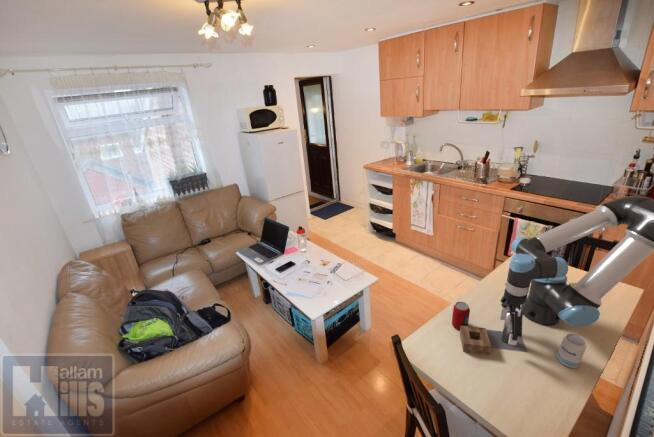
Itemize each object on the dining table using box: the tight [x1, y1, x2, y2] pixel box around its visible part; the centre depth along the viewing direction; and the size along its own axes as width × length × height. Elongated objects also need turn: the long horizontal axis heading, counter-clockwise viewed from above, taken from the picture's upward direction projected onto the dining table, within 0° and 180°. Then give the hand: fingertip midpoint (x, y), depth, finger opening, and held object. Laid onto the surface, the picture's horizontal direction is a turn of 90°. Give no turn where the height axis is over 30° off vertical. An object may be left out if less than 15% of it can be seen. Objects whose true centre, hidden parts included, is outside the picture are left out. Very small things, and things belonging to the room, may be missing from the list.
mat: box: [486, 329, 529, 353], centre depth 127 cm, size 14×10×1 cm
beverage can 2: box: [556, 333, 587, 369], centre depth 113 cm, size 7×7×12 cm
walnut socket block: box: [459, 325, 492, 356], centre depth 126 cm, size 10×10×5 cm
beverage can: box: [451, 301, 471, 331], centre depth 134 cm, size 7×7×12 cm
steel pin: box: [501, 311, 515, 343], centre depth 124 cm, size 3×3×15 cm
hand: (507, 331), depth 125 cm, fingers open, 13 cm apart
